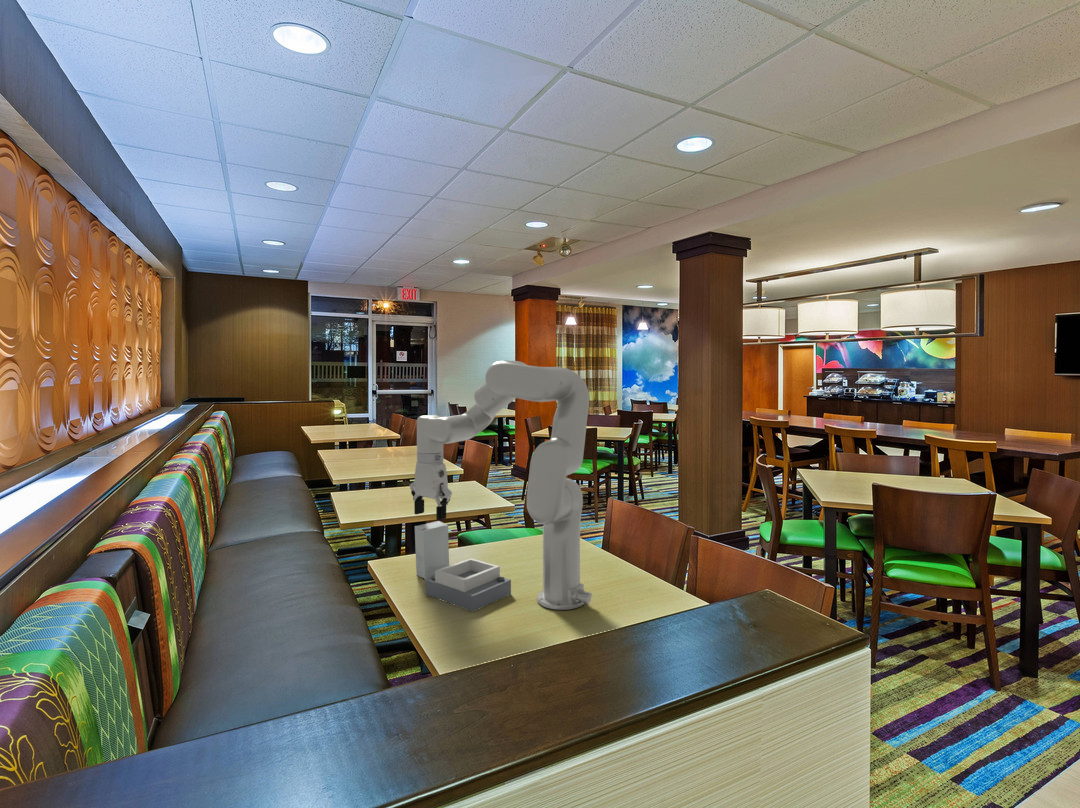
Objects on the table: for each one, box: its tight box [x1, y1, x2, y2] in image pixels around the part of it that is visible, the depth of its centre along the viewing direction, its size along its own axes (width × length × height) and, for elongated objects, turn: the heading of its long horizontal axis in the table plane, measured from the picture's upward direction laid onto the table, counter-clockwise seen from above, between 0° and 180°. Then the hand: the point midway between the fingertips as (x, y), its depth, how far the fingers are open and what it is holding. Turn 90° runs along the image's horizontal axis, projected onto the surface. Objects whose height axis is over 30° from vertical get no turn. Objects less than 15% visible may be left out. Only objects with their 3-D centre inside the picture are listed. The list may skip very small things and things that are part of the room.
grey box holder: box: [424, 557, 512, 612], centre depth 149 cm, size 18×14×7 cm
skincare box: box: [414, 520, 450, 581], centre depth 164 cm, size 8×6×15 cm
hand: (430, 516), depth 164 cm, fingers open, 9 cm apart
